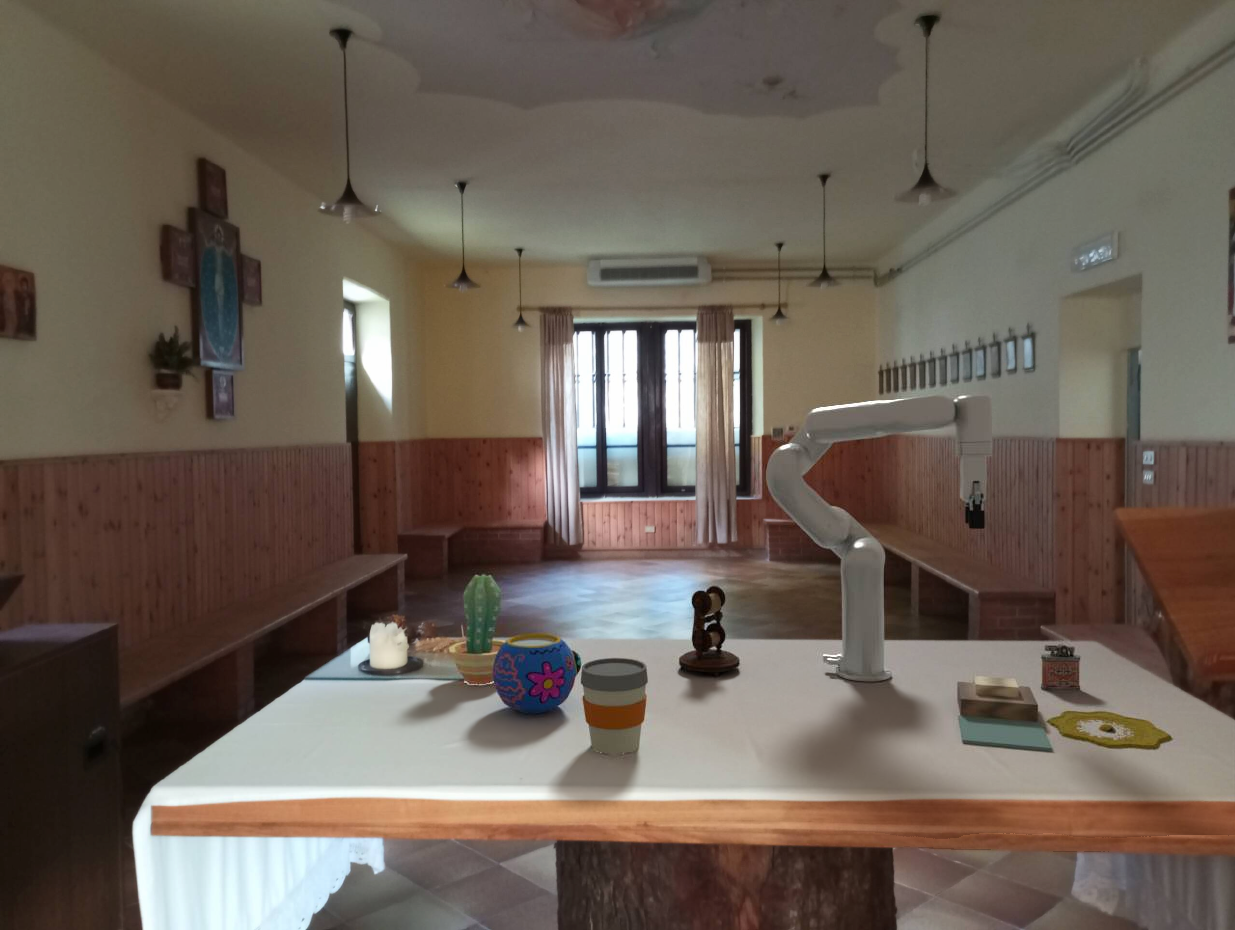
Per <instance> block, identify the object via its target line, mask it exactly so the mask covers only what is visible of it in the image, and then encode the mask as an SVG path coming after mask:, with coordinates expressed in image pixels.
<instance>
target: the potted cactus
mask: <svg viewBox="0 0 1235 930" xmlns="http://www.w3.org/2000/svg"><path fill="white" fill-rule="evenodd" d="M462 597H463V611H464V614H465V618H466V623H467V624H466V636H465V637H466V640H465V641H460V642H457V643H455V644H452V645H451V646H449V647H448V649H449V650H448V651H449V652H448V653H449V655H450V658H451V659H453V661H454V664H455V666H456V669H457V671H458V672H459V673H460V674H461V675H460V676H462V677H463V678H465V680H466V681H467V682H468V683H469V684H478V685H479V684H486V683H490V682H492V681H494V679H493V666H494V661H495V658H496V655H497V653H498V651H499V649H500V647H501V646H502V645H503V644H504V643H505V642H506V641H507V640H503V639H494V635H495V629H496V623H497V620H498V618H499V617H498V616H499V614H500V611H501V609H502V590H501V588H500V587H499V585H498V583H497V582H496V581H495V579H494V578H493V576H492V575H491V574H489V575H486V574H484V573H483V574H481V575H478V574H475V575H474V576H473V577H472V578H471V580H470V581H469V583H468V584H467V585H466V588H465V590H464V591H463V594H462Z"/></svg>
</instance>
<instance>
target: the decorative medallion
mask: <svg viewBox="0 0 1235 930" xmlns="http://www.w3.org/2000/svg"><path fill="white" fill-rule="evenodd" d="M1091 721H1094V722H1095V723H1099V722H1100V721H1101V722H1102V724H1100V726H1099V727H1098V730H1099V731H1101V732H1103V733H1105V734H1104V735H1101V734H1099V735H1094V734H1091V733H1090V731H1089V730H1091V728H1089V729H1088V731H1087V730H1084V725H1083V726H1082V722H1083V723H1084V724H1086V723H1088V724H1089V723H1090V724H1091ZM1046 723H1047V724H1049V725H1050V726H1052V727H1054V728H1055V729H1056V730H1057V731H1058V733H1059V735H1061V737H1064V738H1067V739H1072V740H1079V741H1083V742H1088V743H1090V744H1094V745H1096V746H1098V747H1104V748H1107V749H1123V748H1124V749H1126V748H1128V749H1129V748H1131V749H1142V750H1156V749H1157V748H1159V747H1160V745H1161V743H1166V742H1170V741H1171V740H1173V737H1172V736H1171V734H1169V733H1168V732H1166V731H1164V730H1163V729H1160V728H1158V727H1156V726H1155V724H1154V723H1153V722H1151V721H1149V720H1147V719H1141V718H1136V717H1135V718H1134V717H1131V716H1125V715H1121V714H1118V713H1115V712H1110V711H1105V710H1100V711H1099V710H1097V711H1095V710H1094V711H1079V710H1065V711H1062V712H1060V715H1057V716H1054V717H1053V716H1052V717H1050V718H1048V719H1047V720H1046ZM1115 727H1117V729H1119V728H1121V731H1122V734H1119V733H1117V735H1115V736H1114V738H1117V739H1114V738H1113V736H1107V734H1106V733H1108V729H1110V732H1111V733H1115V732H1117V731H1116V728H1115ZM1122 728H1123V729H1122ZM1111 730H1112V731H1111ZM1091 731H1092V730H1091ZM1092 732H1093V731H1092ZM1095 732H1096V733H1098V731H1095ZM1128 732H1129V733H1128ZM1098 736H1099V737H1098Z"/></svg>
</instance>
